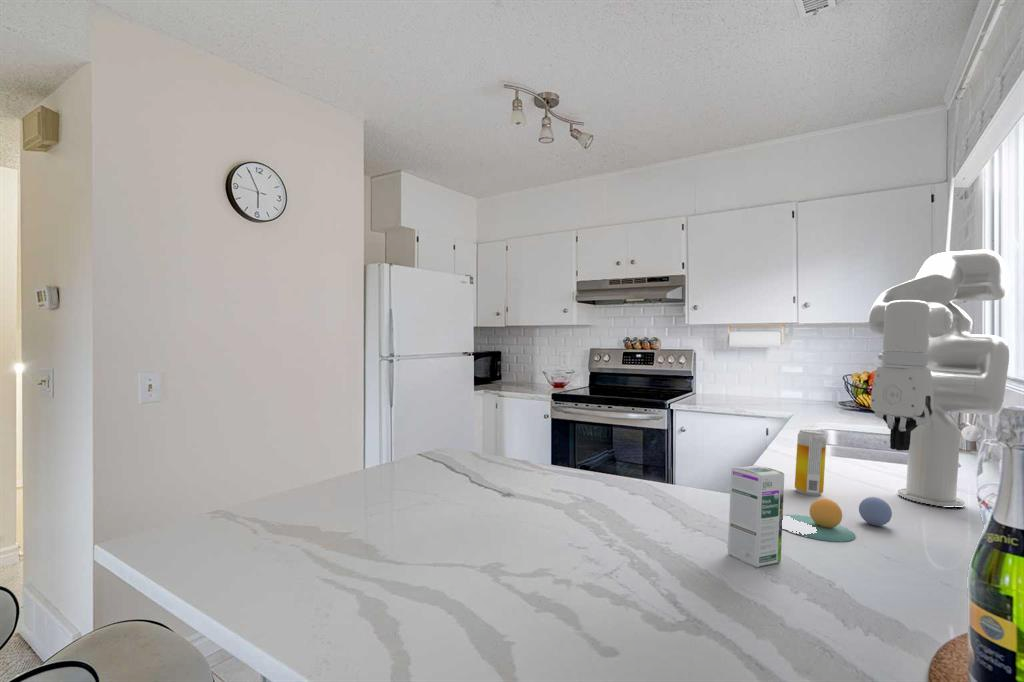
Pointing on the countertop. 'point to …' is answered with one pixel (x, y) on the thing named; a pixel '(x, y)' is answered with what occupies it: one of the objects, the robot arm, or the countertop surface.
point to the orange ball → (825, 513)
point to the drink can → (810, 462)
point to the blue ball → (875, 511)
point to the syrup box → (756, 515)
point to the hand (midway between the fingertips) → (899, 449)
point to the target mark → (826, 531)
